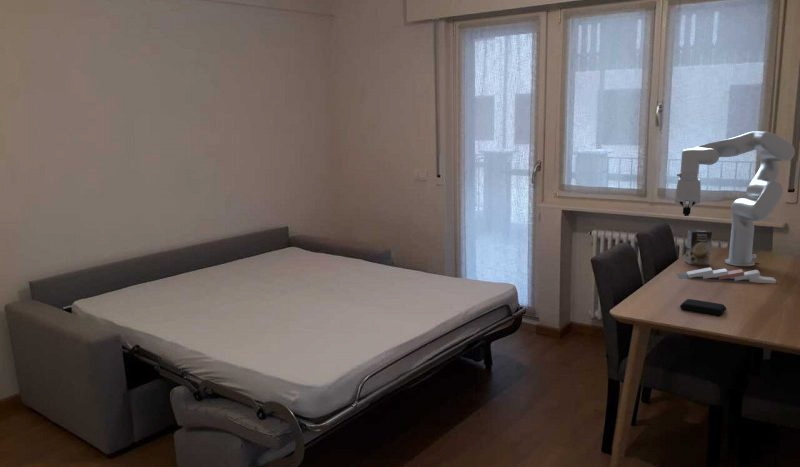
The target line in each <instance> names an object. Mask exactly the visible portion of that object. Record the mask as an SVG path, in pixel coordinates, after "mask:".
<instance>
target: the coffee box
mask: <svg viewBox="0 0 800 467" xmlns="http://www.w3.org/2000/svg"><path fill="white" fill-rule="evenodd" d="M712 235H713V233H712V231H710V230H709V229H687V238H686V248H685V259H684V262H686V263H687V264H688V265H706V266H707V265H708V266H709V264H710V256H711V247H712V246H711V245H712Z"/></svg>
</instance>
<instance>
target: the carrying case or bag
mask: <svg viewBox="0 0 800 467" xmlns="http://www.w3.org/2000/svg"><path fill="white" fill-rule="evenodd" d="M679 308H680V309H681V310H682V311H684V312H689V313H696V314H702V315H707V316H712V317H721V316H722V315H724V313H725V312H726V311H727V310H728V308H727V307H726V306H725V305H724V304H722V303H716V302H713V301H712V302H711V301H705V300H698V299H694V298H693V299H691V298H686V299H685V300H684V301H683V302H682V303H681V304H680V305H679Z"/></svg>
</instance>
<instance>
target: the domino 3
mask: <svg viewBox="0 0 800 467" xmlns="http://www.w3.org/2000/svg"><path fill="white" fill-rule="evenodd" d="M743 272H744V276H738V277H733V279H734V280H735V281H737V280H742V279H747V278H753V277H758V276H761V273H760V271H759V270H758V269H754V270H748V271H743Z"/></svg>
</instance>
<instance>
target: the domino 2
mask: <svg viewBox="0 0 800 467" xmlns="http://www.w3.org/2000/svg"><path fill="white" fill-rule="evenodd" d="M712 270H713V274H708V275H703V276H702V277H703V279H706V278H712V277H718V276H723V275H728V271H729V270H727V268H720V269H712Z"/></svg>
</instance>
